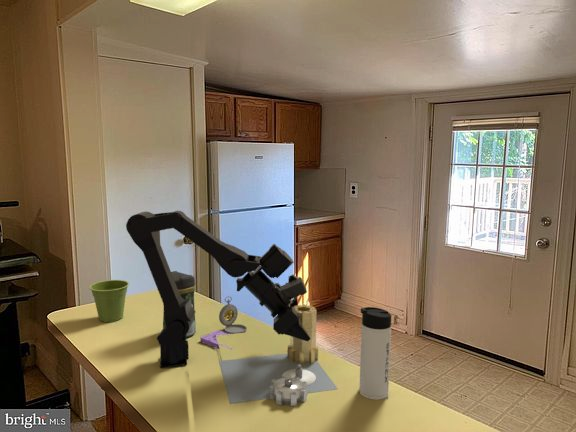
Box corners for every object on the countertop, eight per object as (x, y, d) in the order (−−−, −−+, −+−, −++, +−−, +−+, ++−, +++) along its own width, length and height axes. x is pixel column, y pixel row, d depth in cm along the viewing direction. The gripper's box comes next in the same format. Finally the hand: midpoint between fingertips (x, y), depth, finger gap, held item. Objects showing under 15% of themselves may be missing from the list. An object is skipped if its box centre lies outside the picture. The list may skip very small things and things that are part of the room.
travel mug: (354, 389, 98) (357, 304, 96) (383, 389, 99) (386, 304, 96) (361, 405, 92) (364, 314, 89) (391, 404, 93) (396, 314, 90)
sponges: (217, 335, 129) (217, 329, 129) (249, 347, 121) (249, 340, 121) (199, 343, 123) (199, 337, 123) (231, 355, 116) (231, 348, 116)
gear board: (230, 409, 90) (230, 390, 89) (218, 365, 109) (218, 349, 108) (337, 393, 96) (338, 376, 96) (309, 355, 115) (309, 340, 115)
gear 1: (292, 366, 106) (293, 315, 105) (284, 353, 114) (285, 305, 112) (321, 362, 109) (323, 312, 107) (312, 350, 116) (313, 303, 114)
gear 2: (274, 408, 88) (274, 393, 88) (265, 388, 96) (265, 374, 95) (312, 403, 90) (312, 387, 90) (300, 383, 98) (301, 369, 98)
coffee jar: (158, 333, 128) (156, 272, 126) (180, 326, 135) (179, 267, 132) (178, 342, 122) (177, 278, 120) (200, 334, 129) (199, 273, 126)
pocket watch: (242, 336, 127) (242, 303, 126) (215, 334, 129) (215, 301, 127) (250, 326, 135) (250, 295, 134) (225, 324, 137) (225, 293, 135)
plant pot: (85, 317, 140) (84, 284, 139) (121, 309, 148) (120, 277, 147) (98, 328, 132) (97, 292, 130) (136, 319, 140) (135, 285, 138)
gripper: (288, 278, 99) (335, 324, 100) (287, 259, 117) (327, 299, 119) (253, 311, 100) (300, 357, 101) (258, 287, 118) (298, 326, 120)
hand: (308, 332), depth 110 cm, fingers open, 9 cm apart
